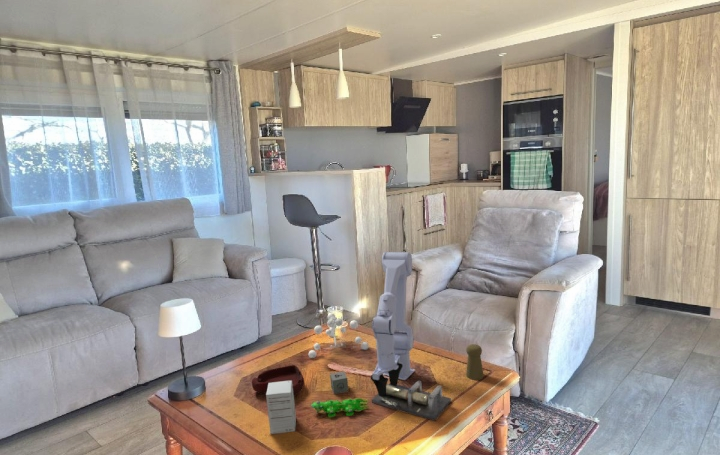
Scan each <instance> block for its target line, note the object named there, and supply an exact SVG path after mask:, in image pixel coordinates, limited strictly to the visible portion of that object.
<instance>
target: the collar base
mask: <svg viewBox="0 0 720 455" xmlns="http://www.w3.org/2000/svg"><path fill="white" fill-rule="evenodd" d="M388 385H391V384H390V383H388ZM391 386H393V385H391ZM442 386H443V385H439V384H438V385H437V386H436V387H435V388H434V389H433V391H432V392H429V391H423V389H422V388H423V387H422V381H421V380H417V381H416V382H415V383H414V384H413V385H411V387H408V386H406V385H405V386H404V385H402V384H401V385H400V384H397V386H395V387H398V388H402V389H406V390H408V391H407V393H408V400H405V399H402V398H398V397H394V396H391V395H387V394H386V396H385V397H381V396H379V394H378V393H377V395H375V396H374V397H373V398H372V399H371V403H372V404H376V405H379V406H382V407H386V408H390V409H393V410H395V411H400V412H404V413H407V414H409V415H414V416H418V417H421V418H424V419H428V420H430V421H431V420H432V421H434V422H436V421H437V419H439V417H440V416H441V414H442V413H443V412H444V411H445V409H446V408H447V407H448V406H449V404H450V403H451V402H452V398H451V397H447V396H444V395H443V387H442ZM413 392H418V393H422V394H426V395H428V404H427V405H424V404H420V403H416V402H413Z"/></svg>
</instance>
